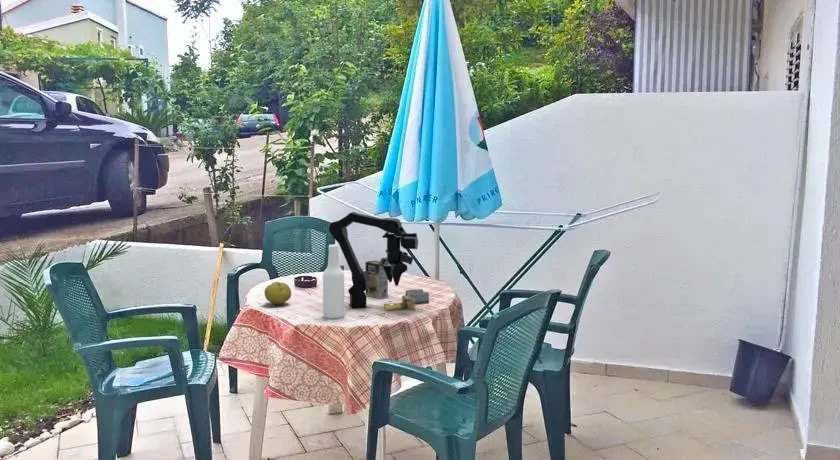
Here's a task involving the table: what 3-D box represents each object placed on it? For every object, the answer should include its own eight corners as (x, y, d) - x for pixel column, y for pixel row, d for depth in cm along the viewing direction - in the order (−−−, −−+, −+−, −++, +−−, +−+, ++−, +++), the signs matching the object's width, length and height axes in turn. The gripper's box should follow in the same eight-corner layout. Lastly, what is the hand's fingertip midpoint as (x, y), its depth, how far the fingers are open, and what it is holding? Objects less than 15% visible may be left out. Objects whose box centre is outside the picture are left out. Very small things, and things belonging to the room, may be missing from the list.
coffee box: (364, 295, 342) (364, 261, 340) (374, 293, 347) (374, 260, 344) (378, 299, 336) (378, 264, 333) (388, 296, 340) (388, 262, 338)
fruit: (262, 303, 326) (261, 281, 325) (288, 300, 331) (287, 279, 330) (267, 308, 316) (266, 286, 315) (294, 306, 321) (293, 283, 319)
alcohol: (319, 317, 302) (318, 246, 298) (329, 313, 310) (328, 242, 306) (338, 320, 299) (338, 247, 294) (348, 315, 307) (347, 244, 303)
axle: (384, 311, 315) (386, 310, 313) (383, 305, 316) (385, 303, 314) (403, 310, 319) (405, 308, 316) (402, 303, 320) (404, 301, 317)
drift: (404, 309, 318) (404, 303, 318) (402, 307, 321) (402, 302, 320) (414, 308, 320) (414, 302, 320) (412, 306, 322) (412, 301, 322)
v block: (412, 304, 326) (412, 294, 325) (405, 300, 334) (405, 289, 333) (428, 303, 329) (429, 292, 328) (421, 298, 337) (421, 288, 336)
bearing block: (408, 309, 316) (408, 299, 316) (402, 305, 324) (402, 295, 323) (415, 309, 317) (415, 299, 317) (408, 305, 325) (408, 295, 324)
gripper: (419, 250, 308) (418, 287, 311) (403, 244, 326) (403, 278, 328) (394, 252, 304) (393, 288, 307) (379, 245, 322) (379, 280, 324)
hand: (393, 283), depth 316 cm, fingers open, 8 cm apart
